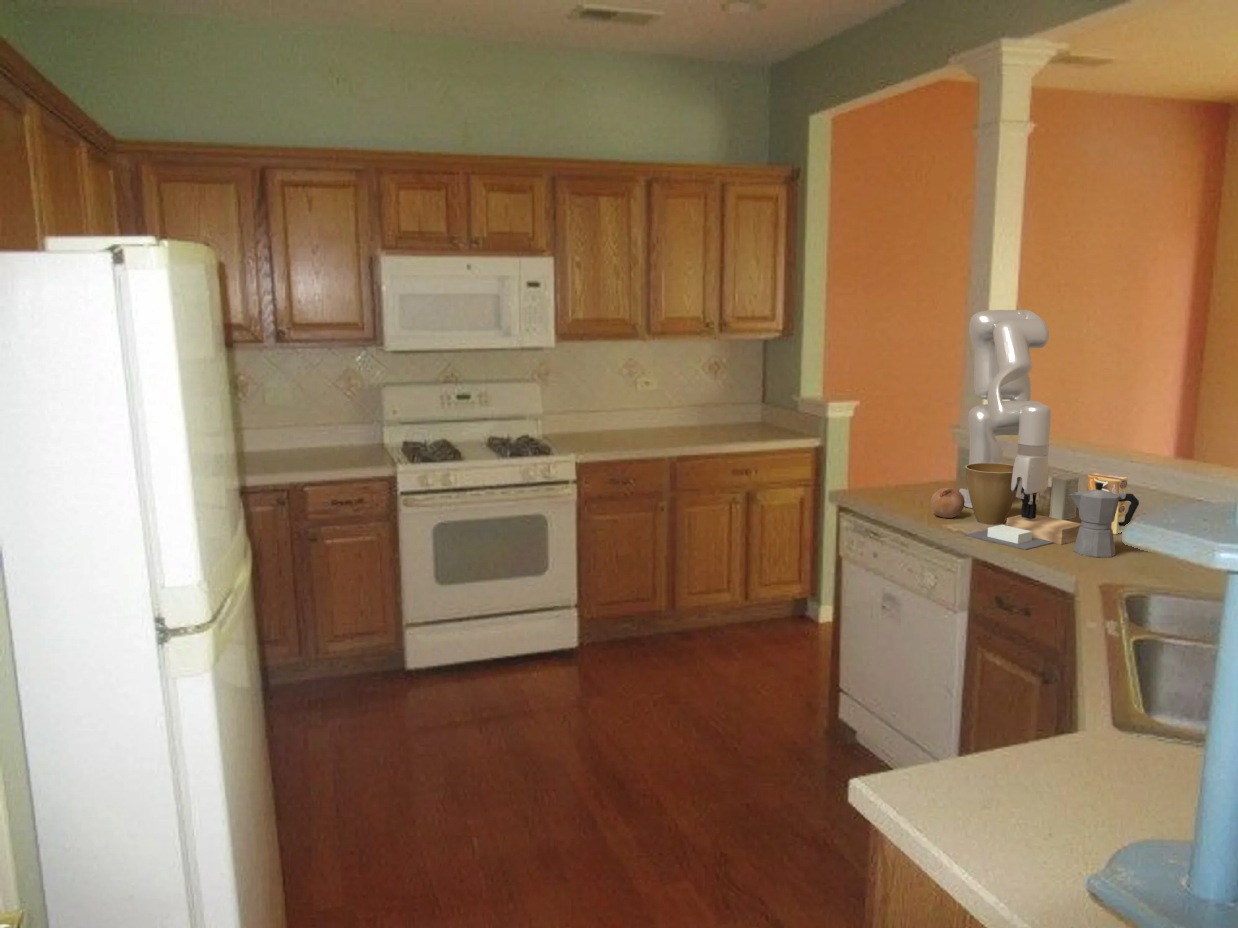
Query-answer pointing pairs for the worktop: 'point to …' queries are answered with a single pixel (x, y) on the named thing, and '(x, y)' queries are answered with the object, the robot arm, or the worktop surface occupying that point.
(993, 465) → the plant pot
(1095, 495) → the coffeepot
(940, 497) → the onion
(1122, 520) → the candy box
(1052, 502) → the skincare box
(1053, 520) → the wooden block
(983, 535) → the mat
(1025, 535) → the white rectangular block
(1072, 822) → the worktop surface
